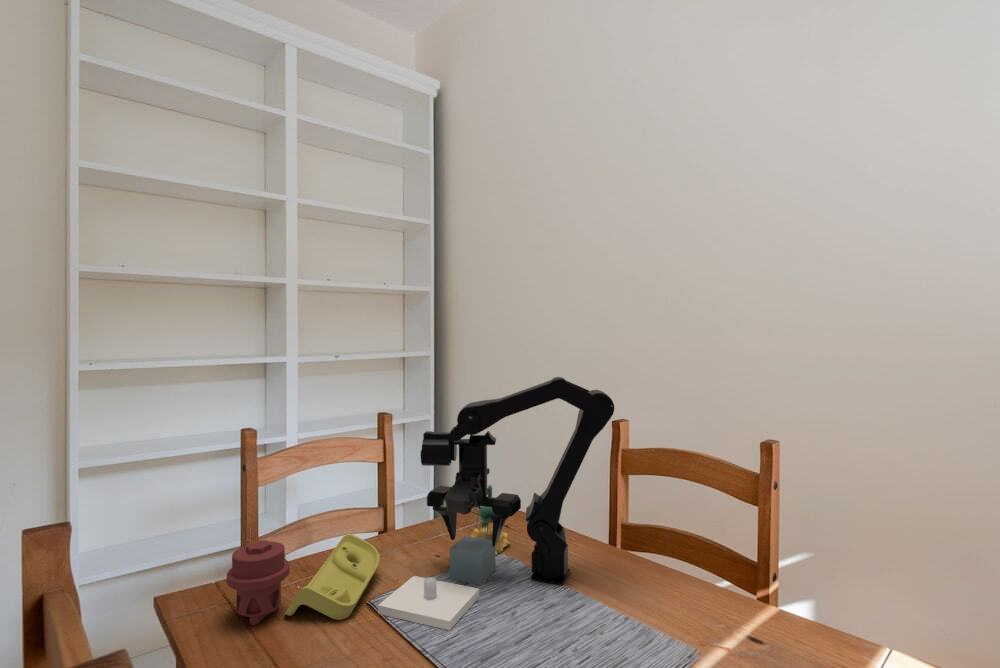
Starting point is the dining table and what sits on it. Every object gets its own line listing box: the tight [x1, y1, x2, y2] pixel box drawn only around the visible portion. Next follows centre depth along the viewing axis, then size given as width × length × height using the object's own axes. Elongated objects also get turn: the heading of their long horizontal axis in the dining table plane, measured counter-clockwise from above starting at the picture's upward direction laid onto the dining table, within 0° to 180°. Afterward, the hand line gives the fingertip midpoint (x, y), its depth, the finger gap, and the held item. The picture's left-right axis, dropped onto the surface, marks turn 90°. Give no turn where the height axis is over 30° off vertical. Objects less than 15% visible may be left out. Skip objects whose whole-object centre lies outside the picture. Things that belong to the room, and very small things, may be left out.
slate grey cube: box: [449, 535, 496, 585], centre depth 109 cm, size 7×7×6 cm
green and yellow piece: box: [469, 484, 511, 556], centre depth 124 cm, size 10×18×15 cm, turn 177°
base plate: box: [377, 575, 480, 631], centre depth 96 cm, size 14×12×4 cm
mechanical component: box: [226, 539, 291, 626], centre depth 93 cm, size 12×10×10 cm
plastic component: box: [284, 533, 381, 621], centre depth 101 cm, size 20×8×10 cm
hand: (473, 542), depth 109 cm, fingers open, 9 cm apart
